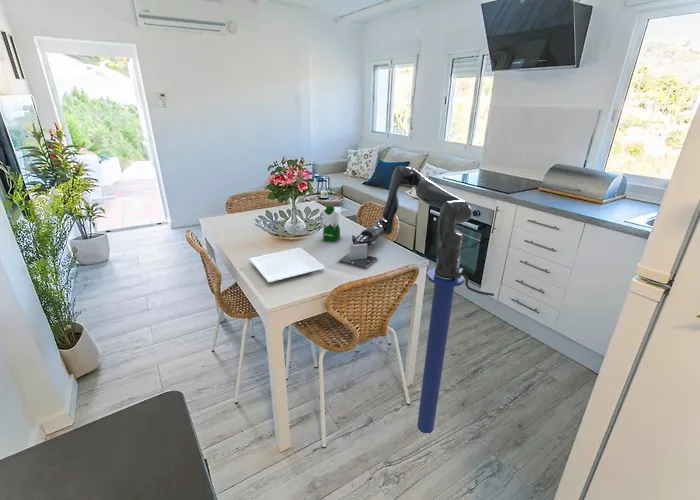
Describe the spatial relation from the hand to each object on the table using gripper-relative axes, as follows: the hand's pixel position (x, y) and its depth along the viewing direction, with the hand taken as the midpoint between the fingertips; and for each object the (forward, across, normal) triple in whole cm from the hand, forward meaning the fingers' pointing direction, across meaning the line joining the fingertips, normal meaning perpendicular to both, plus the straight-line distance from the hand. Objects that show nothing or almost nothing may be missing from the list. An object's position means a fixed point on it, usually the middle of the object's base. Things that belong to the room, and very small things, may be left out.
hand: (354, 245), depth 165 cm
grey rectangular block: (+2, +3, +5) cm, 6 cm away
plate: (+24, -22, +7) cm, 33 cm away
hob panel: (+2, +3, +7) cm, 8 cm away
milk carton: (-16, -23, +7) cm, 29 cm away
